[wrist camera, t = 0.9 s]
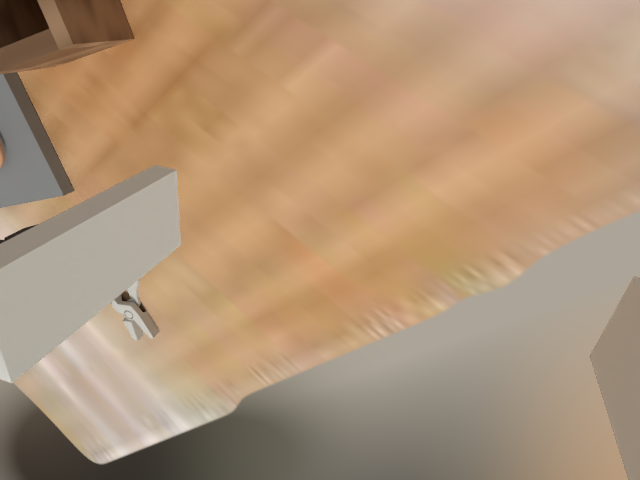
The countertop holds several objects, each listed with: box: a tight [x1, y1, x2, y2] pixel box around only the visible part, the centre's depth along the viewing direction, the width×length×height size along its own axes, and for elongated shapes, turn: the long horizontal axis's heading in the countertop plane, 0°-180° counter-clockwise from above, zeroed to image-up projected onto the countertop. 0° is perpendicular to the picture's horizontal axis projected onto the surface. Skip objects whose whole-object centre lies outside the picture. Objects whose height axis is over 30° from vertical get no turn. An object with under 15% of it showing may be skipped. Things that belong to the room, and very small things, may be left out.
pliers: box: [111, 279, 159, 341], centre depth 54 cm, size 10×2×15 cm
